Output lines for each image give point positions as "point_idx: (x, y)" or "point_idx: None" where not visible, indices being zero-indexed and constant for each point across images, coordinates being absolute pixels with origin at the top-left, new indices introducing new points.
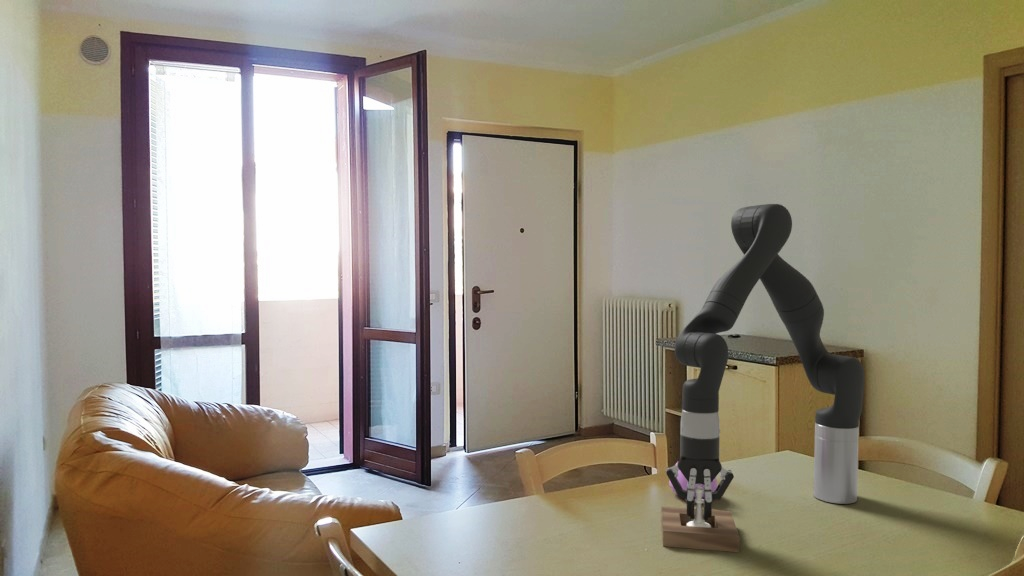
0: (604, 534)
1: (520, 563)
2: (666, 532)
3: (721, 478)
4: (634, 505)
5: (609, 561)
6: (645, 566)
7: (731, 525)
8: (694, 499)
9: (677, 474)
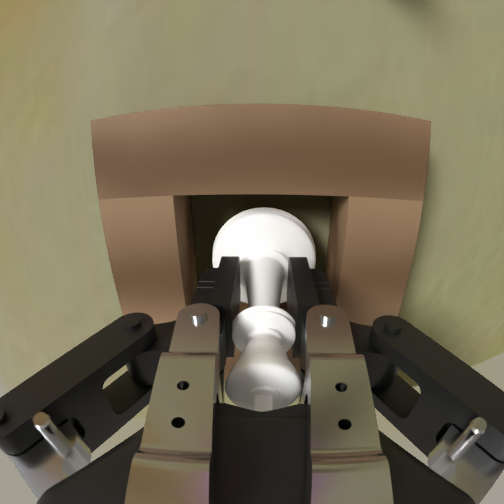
0: (18, 283)
1: (4, 389)
2: None
3: (431, 456)
4: (45, 9)
5: None
6: (145, 416)
7: (389, 299)
8: (235, 333)
9: (83, 461)
